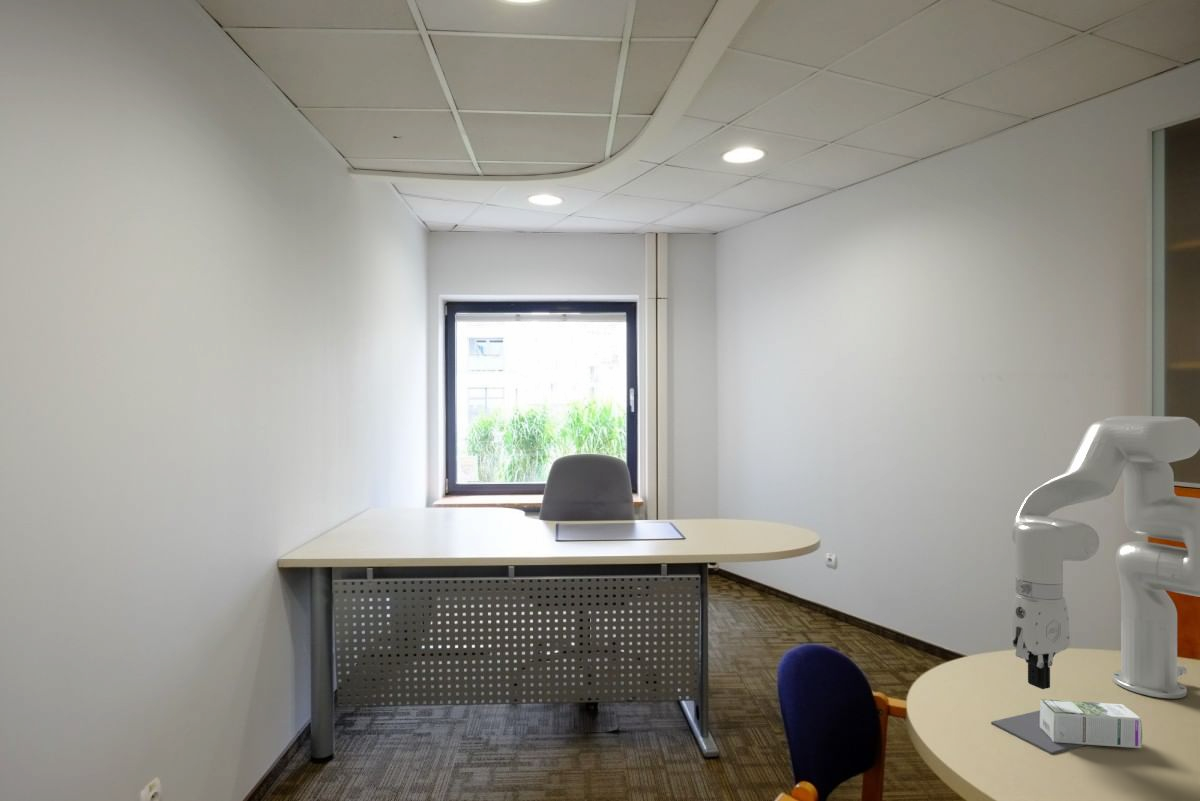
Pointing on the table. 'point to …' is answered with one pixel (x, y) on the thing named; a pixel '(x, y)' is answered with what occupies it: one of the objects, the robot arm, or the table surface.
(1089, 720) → the syrup box
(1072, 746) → the mat
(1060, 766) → the table surface
